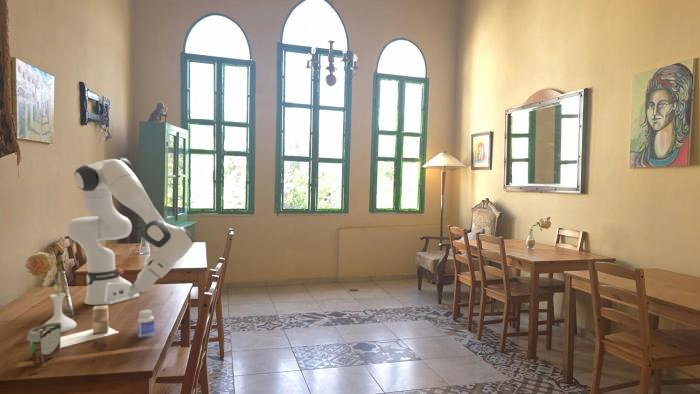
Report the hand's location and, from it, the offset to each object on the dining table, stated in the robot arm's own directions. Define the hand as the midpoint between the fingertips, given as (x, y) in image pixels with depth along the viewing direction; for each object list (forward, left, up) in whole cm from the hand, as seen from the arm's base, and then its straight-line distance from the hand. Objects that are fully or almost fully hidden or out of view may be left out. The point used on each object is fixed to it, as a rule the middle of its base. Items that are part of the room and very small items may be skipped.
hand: (130, 293), depth 166 cm
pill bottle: (0, +11, -15) cm, 18 cm away
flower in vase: (+17, -20, -15) cm, 30 cm away
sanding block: (+9, -5, -13) cm, 16 cm away
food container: (+30, +4, -15) cm, 33 cm away
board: (+15, -5, -14) cm, 21 cm away
